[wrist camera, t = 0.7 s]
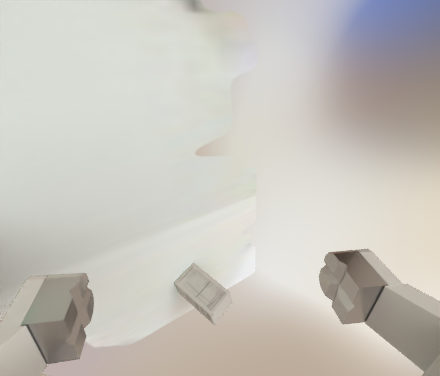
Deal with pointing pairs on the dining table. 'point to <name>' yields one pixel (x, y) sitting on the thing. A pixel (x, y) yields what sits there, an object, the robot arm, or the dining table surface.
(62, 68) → the dining table surface
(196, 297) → the supplement box
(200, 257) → the dining table surface
